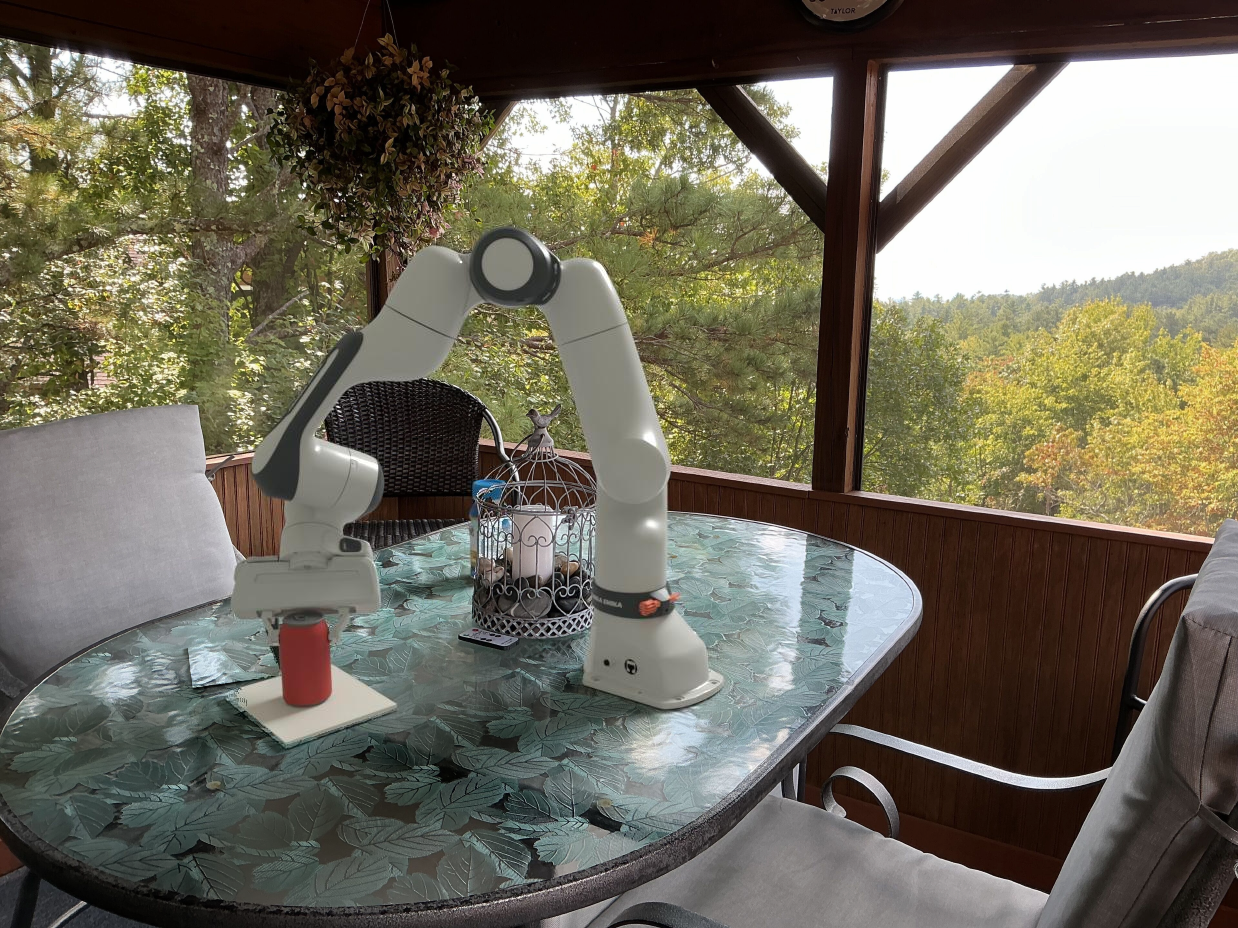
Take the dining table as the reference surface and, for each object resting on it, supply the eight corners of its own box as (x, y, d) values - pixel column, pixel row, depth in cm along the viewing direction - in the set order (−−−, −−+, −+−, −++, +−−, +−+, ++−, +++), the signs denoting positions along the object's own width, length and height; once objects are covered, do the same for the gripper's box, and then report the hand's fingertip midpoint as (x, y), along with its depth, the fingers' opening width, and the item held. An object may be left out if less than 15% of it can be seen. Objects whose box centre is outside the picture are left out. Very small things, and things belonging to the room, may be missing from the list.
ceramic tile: (397, 710, 125) (396, 703, 125) (286, 749, 114) (285, 742, 114) (328, 667, 139) (328, 661, 139) (223, 699, 128) (223, 692, 128)
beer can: (312, 684, 131) (308, 605, 129) (342, 695, 127) (338, 615, 125) (273, 700, 126) (268, 618, 123) (302, 713, 122) (298, 629, 120)
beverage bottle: (503, 584, 180) (502, 487, 176) (463, 581, 182) (461, 485, 178) (516, 572, 188) (515, 479, 184) (478, 569, 190) (476, 477, 186)
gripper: (231, 546, 127) (219, 637, 120) (380, 541, 131) (377, 629, 123) (240, 567, 132) (229, 655, 125) (383, 562, 136) (380, 647, 129)
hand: (304, 642), depth 124 cm, fingers closed on beer can, 7 cm apart
